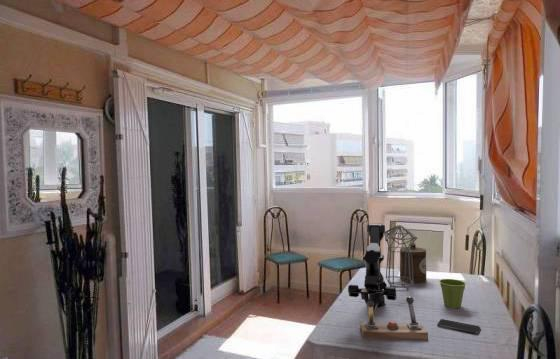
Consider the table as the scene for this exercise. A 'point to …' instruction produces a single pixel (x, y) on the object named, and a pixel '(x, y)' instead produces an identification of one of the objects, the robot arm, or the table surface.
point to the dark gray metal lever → (371, 312)
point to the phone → (459, 326)
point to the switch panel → (393, 331)
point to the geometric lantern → (397, 251)
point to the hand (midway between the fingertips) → (371, 312)
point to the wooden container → (418, 264)
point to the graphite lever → (411, 310)
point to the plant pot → (452, 292)
